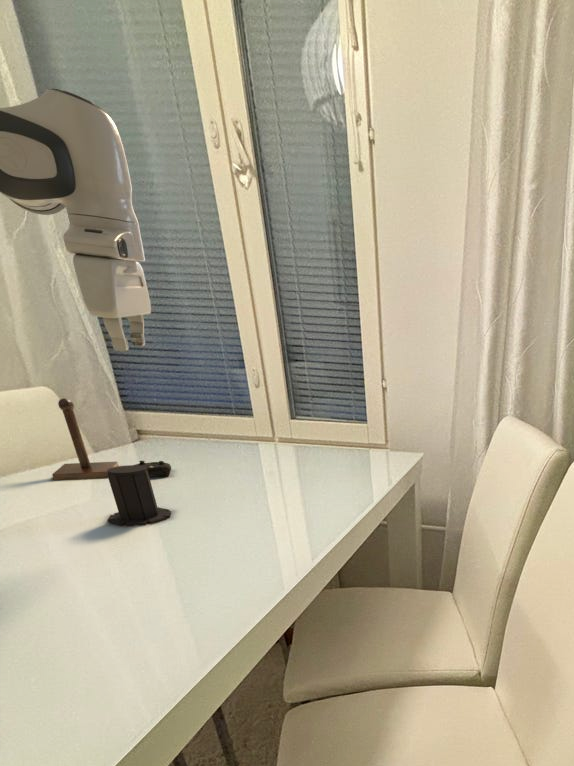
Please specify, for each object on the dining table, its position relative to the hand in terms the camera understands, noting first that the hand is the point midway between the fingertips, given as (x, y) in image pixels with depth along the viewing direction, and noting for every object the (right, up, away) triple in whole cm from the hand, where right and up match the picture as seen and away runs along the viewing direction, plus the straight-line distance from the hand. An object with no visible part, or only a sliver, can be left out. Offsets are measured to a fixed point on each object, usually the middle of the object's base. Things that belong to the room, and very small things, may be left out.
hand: (130, 348), depth 89 cm
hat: (-6, -25, +13) cm, 29 cm away
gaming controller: (-20, -9, +39) cm, 45 cm away
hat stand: (-35, -8, +40) cm, 54 cm away
